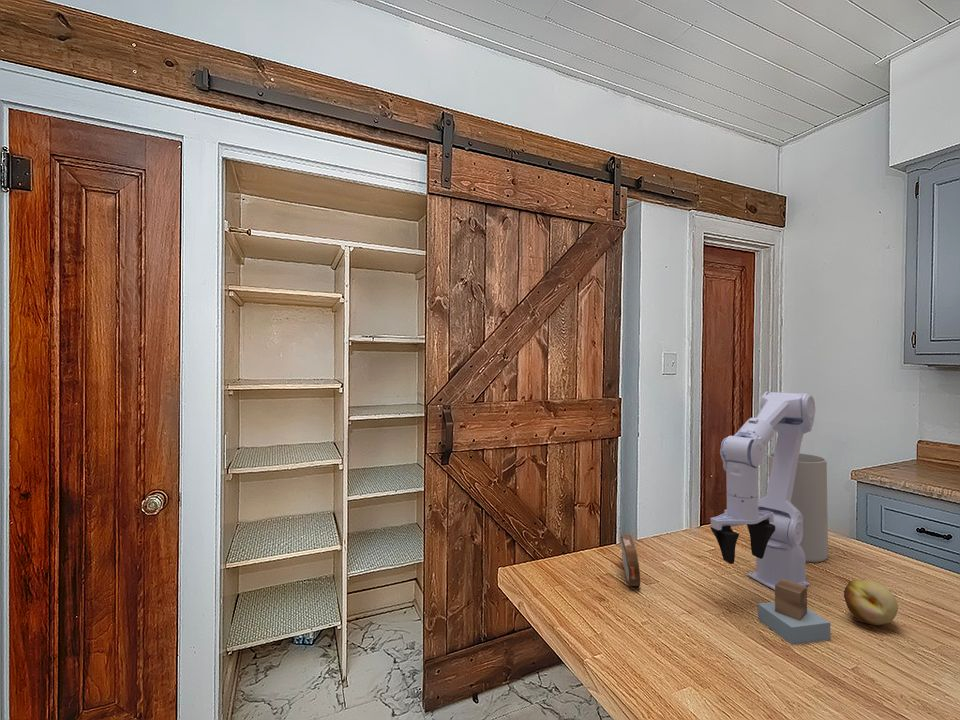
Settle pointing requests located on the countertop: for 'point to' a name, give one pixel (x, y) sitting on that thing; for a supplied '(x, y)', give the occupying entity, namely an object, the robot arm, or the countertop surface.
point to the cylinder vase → (811, 504)
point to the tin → (630, 561)
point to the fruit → (870, 602)
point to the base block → (795, 625)
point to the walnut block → (791, 599)
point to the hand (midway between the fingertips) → (743, 559)
